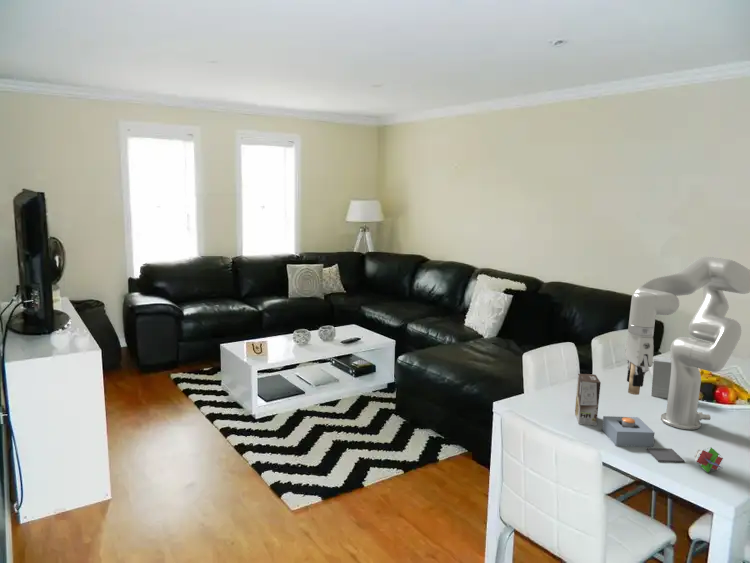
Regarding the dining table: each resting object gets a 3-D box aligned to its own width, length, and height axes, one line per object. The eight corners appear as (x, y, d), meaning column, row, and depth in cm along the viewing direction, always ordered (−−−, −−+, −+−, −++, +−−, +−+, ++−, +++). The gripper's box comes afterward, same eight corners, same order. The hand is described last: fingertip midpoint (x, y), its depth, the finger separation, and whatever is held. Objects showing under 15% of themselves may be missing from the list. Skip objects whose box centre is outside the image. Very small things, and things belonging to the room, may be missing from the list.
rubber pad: (671, 450, 176) (671, 448, 176) (684, 462, 168) (684, 460, 168) (646, 449, 176) (646, 447, 176) (658, 461, 168) (658, 460, 168)
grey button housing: (636, 430, 190) (638, 417, 189) (652, 446, 178) (654, 432, 177) (602, 429, 190) (603, 416, 189) (615, 445, 179) (617, 431, 178)
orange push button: (630, 428, 186) (632, 417, 185) (636, 433, 182) (637, 422, 181) (619, 427, 186) (620, 417, 185) (623, 432, 182) (625, 422, 181)
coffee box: (597, 426, 193) (601, 382, 190) (578, 424, 195) (581, 381, 192) (592, 415, 202) (596, 374, 199) (574, 413, 203) (577, 372, 201)
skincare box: (674, 395, 223) (678, 358, 221) (673, 400, 218) (677, 363, 215) (651, 391, 228) (655, 354, 225) (649, 396, 222) (653, 359, 219)
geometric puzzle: (720, 458, 167) (706, 438, 166) (734, 469, 160) (720, 448, 159) (699, 470, 168) (686, 451, 167) (712, 482, 161) (698, 462, 160)
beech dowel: (636, 391, 182) (640, 359, 181) (641, 394, 179) (644, 362, 177) (626, 390, 183) (629, 359, 181) (630, 394, 179) (634, 362, 177)
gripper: (665, 337, 169) (658, 393, 172) (640, 324, 185) (634, 376, 188) (641, 336, 169) (634, 392, 172) (618, 323, 185) (612, 375, 189)
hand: (634, 383), depth 180 cm, fingers closed on beech dowel, 3 cm apart
